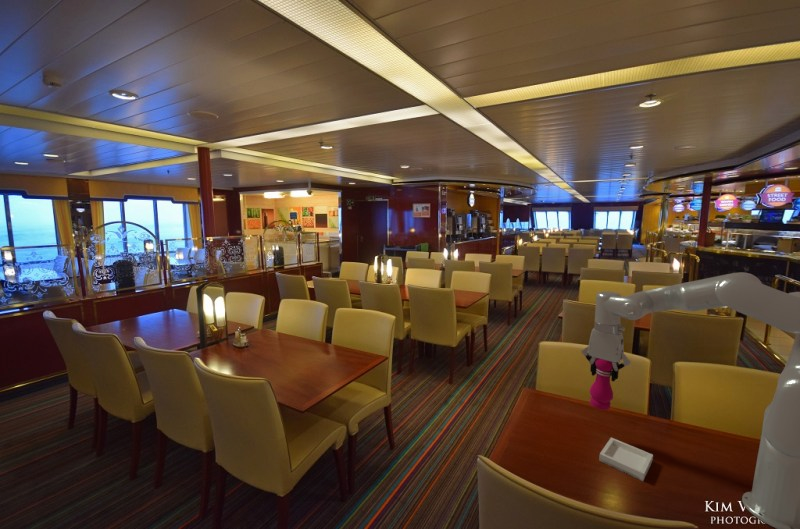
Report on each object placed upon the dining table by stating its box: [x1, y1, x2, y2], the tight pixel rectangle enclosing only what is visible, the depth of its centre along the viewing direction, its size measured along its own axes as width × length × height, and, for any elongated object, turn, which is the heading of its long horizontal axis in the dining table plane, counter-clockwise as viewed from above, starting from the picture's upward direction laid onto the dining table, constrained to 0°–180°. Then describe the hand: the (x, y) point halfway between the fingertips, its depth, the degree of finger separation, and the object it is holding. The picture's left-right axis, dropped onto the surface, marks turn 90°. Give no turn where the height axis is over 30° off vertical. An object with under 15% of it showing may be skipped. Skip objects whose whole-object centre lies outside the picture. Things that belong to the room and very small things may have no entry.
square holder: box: [598, 437, 654, 482], centre depth 111 cm, size 12×12×2 cm
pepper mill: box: [589, 358, 614, 411], centre depth 121 cm, size 7×7×20 cm
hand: (603, 376), depth 121 cm, fingers closed on pepper mill, 5 cm apart
